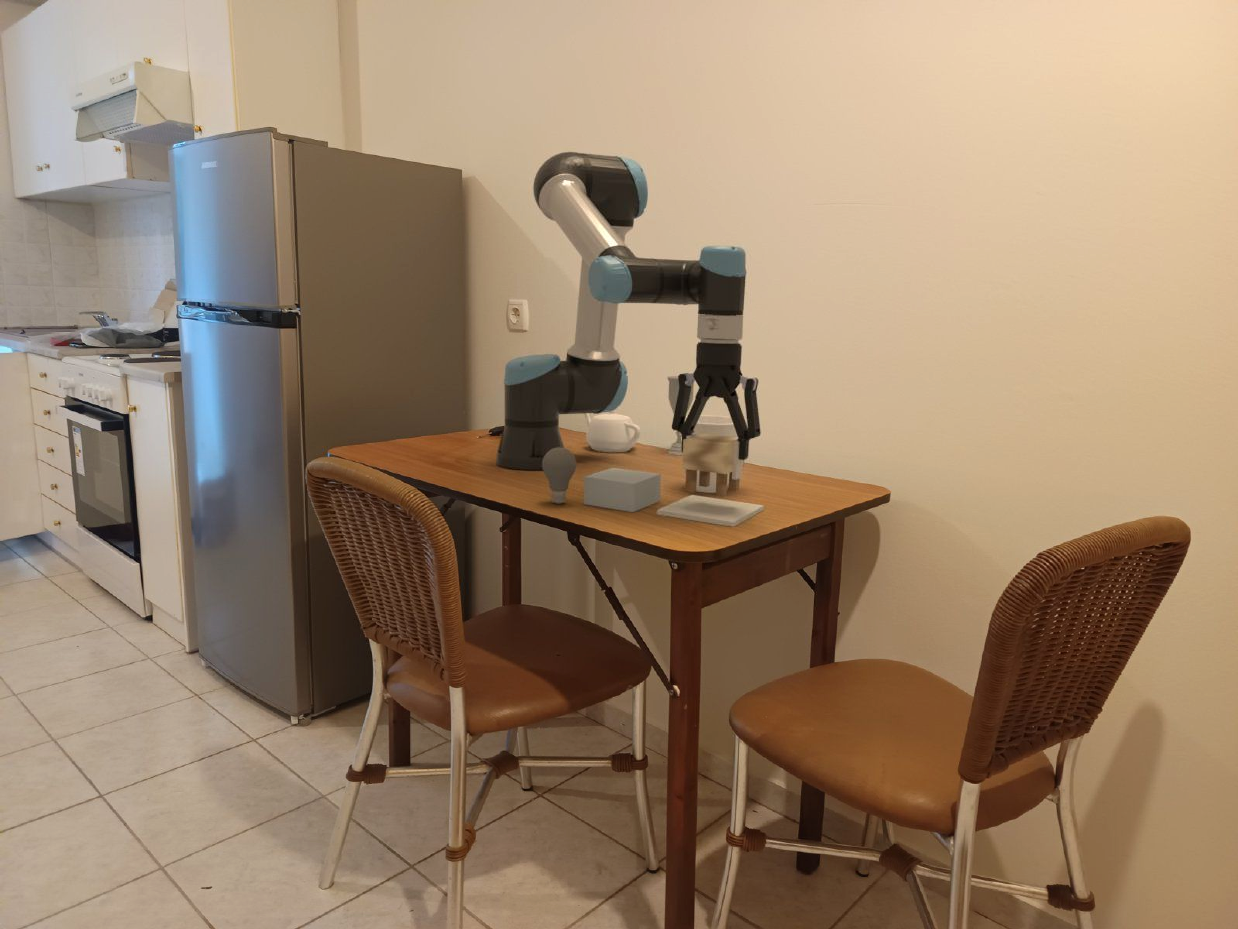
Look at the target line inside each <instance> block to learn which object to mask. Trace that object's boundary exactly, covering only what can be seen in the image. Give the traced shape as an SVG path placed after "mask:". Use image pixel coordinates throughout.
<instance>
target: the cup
mask: <svg viewBox="0 0 1238 929" xmlns="http://www.w3.org/2000/svg"><path fill="white" fill-rule="evenodd" d="M687 416H688V415H686V418H687ZM686 418H685V421H686ZM693 431H694V432H693V433H692V434H697V435H701V434H709V435H719V436H728V437H738V436H737V433H736V430H735V427H734V425H733V422H732V419H731V416H728V415H727V416H725V415H717V414H716V415H714V414H713V415H711V414H710V415H709V414H701V415H700V417H699V419H698V422H697V424H696V426H695V428H694V430H693ZM679 434H680V435H681V438H682V434H681V433H680V432H679ZM699 474H700V471H697V485H696V491H695V492H699V493H707V494H716V476H717V473H713V472H710V486H707V487H703V486H699ZM727 487H729V473H728V476H727Z"/></svg>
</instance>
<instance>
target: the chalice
mask: <svg viewBox="0 0 1238 929" xmlns="http://www.w3.org/2000/svg"><path fill="white" fill-rule="evenodd" d="M678 376H679V375H668V376H667V377H666V378H667V380H668V401H669V406H670V408H671V410H672V413H673V414H674V412H675V407H676V402H677V397H678V392H679V381H678ZM695 382H696V381H695V380H694V383H693V385H691V393H690V398H689V403H688V408H687V413H686V415H688V413H689V412H688V411H690V409H691V407H692V406H691V405H692V404H693V403H692V402H693V399H694V385H695ZM675 434H676V436H677V438H676V441H675V442H672V443H671V445H670V447H669V450H668V452H667V454H669V455H675V456H677V455H678V456H683V453H682V450H681V447H682V437H681V435H680V434H679V432H678V431H676V432H675Z"/></svg>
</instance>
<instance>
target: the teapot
mask: <svg viewBox="0 0 1238 929" xmlns="http://www.w3.org/2000/svg"><path fill="white" fill-rule="evenodd" d="M616 411H617V409H615V410H614V411H611V412H606V413H604V414H602V413H601V414H596V415H594V416H593V417H592V418H591V417H590V413H584V414H583V415H584V417H585V419H586V424H587V431H586V434H585V440H586V442H587V445H589V446H590V448H591V449H592V450H593V449H594V450H593V451H595V450H597V451H596V452H600V451H602V453H617V452H618V453H625V452H628V451H630V450H631V449H632V448H633V447H634V446H635V445H636V443H637V441H638V440H639V439H640V437H641V432H642V431H641V428H640V426H639V425H638V424H635V423H634V422H633V420H632V418H631V417H630V416H628V415H623V414H621V413H619V414H618V413H617V412H616Z"/></svg>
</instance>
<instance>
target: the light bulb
mask: <svg viewBox="0 0 1238 929" xmlns="http://www.w3.org/2000/svg"><path fill="white" fill-rule="evenodd" d="M542 467H543V469H542V470H543V474H544V475H545V477H546V478H547V481H548V482H549V483H548V485H549V488H550V490H551V491H550V494H551V496H550V497H551V499H550V501H551V502H553V503H555V504H556V505H560V504H563V503H565V502H566V501H567V490H568V488H569V484H570V482H571V479H572V477H573V475H574V474H575V472H576V469H577V461H576V457H575V455H574V454H573V453H572V452H571V451H570V449H567V448H565V447H564V448H561V447H558V448H553V449H551V450H550V451H548V452H547V453H546V455H545V456H544V458H543V461H542Z"/></svg>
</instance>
